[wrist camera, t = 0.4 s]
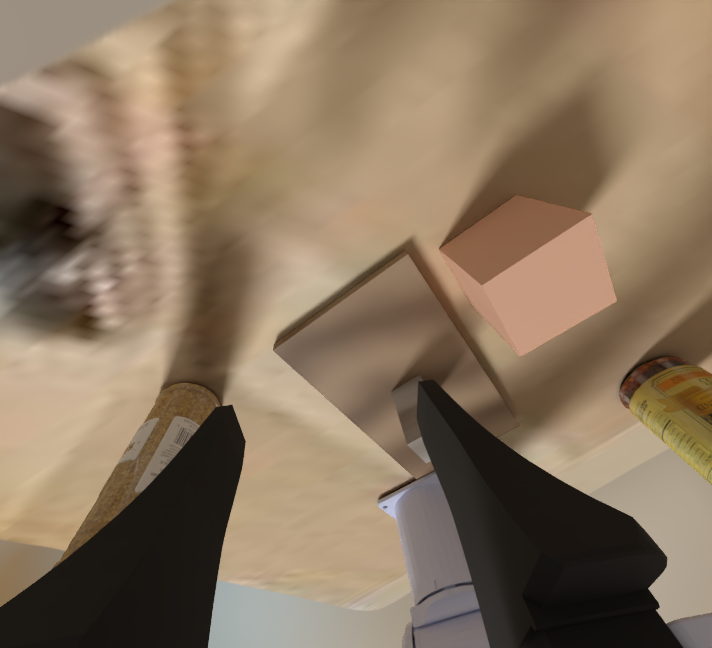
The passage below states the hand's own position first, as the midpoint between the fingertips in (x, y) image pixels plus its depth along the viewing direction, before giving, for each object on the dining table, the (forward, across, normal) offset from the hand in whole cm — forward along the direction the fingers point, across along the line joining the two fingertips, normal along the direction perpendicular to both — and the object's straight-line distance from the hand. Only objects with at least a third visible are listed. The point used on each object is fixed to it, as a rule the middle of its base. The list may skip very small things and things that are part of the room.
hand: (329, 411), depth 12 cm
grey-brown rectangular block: (+10, -6, +8) cm, 14 cm away
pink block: (+10, -11, -2) cm, 15 cm away
